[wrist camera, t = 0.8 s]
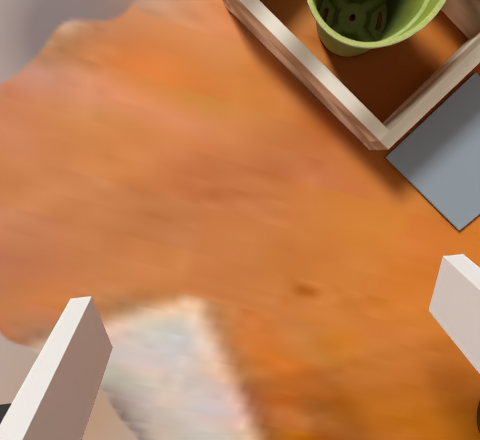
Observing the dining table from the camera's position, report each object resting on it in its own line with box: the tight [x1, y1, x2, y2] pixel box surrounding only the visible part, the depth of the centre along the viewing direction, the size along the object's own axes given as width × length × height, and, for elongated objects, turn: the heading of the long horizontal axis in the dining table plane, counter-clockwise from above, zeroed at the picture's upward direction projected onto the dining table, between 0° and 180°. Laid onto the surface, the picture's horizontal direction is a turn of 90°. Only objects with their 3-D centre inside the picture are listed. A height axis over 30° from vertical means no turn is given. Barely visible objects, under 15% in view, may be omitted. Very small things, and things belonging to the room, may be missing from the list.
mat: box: [385, 72, 480, 231], centre depth 30 cm, size 10×10×1 cm
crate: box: [223, 0, 480, 150], centre depth 26 cm, size 19×13×6 cm
